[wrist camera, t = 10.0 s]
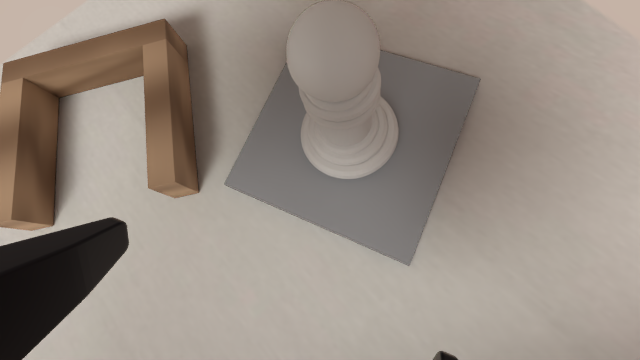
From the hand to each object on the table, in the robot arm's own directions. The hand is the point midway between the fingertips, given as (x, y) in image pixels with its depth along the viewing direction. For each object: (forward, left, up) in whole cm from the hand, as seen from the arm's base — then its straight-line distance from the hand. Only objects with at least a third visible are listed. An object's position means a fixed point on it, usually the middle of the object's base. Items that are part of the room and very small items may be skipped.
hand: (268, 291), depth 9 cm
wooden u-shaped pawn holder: (+2, +16, -9) cm, 18 cm away
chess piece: (+8, +2, -9) cm, 12 cm away
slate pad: (+8, +2, -9) cm, 12 cm away
